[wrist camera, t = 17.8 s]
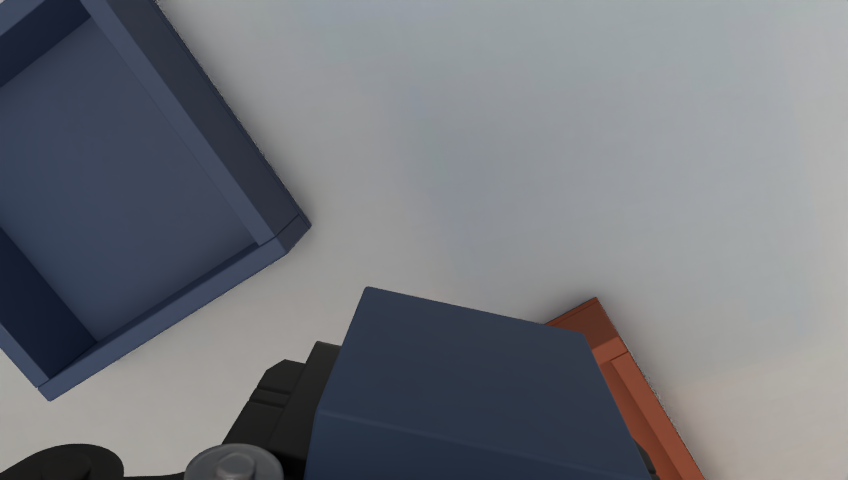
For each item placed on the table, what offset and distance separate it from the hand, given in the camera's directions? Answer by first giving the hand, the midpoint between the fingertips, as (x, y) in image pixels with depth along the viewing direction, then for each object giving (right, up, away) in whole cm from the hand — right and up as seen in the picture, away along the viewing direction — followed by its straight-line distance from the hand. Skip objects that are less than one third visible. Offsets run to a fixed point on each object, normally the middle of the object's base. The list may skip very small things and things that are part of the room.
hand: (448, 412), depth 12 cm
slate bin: (-14, +6, +14) cm, 21 cm away
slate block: (0, 0, 0) cm, 0 cm away
